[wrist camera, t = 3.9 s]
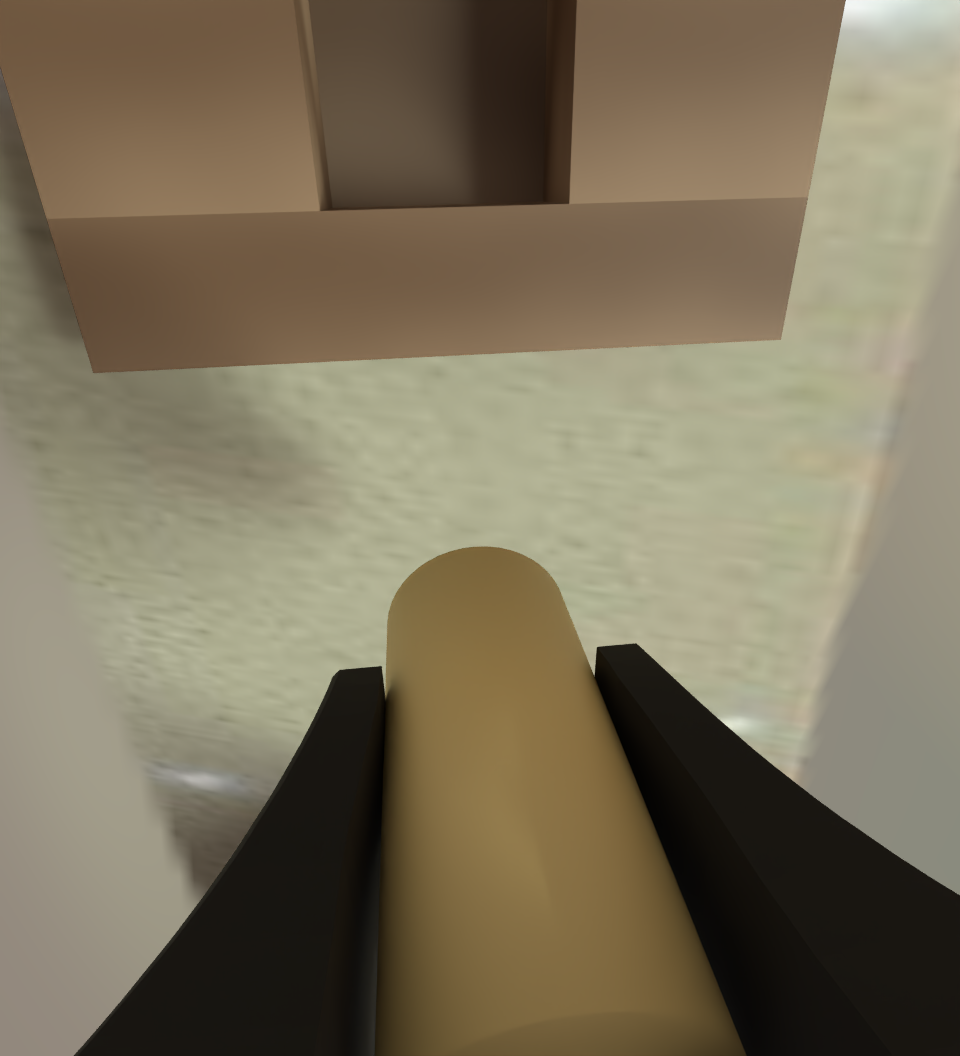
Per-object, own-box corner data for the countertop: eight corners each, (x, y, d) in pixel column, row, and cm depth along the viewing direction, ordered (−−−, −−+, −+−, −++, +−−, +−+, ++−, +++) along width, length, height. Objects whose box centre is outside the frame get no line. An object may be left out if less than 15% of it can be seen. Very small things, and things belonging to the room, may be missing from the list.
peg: (561, 685, 12) (719, 1168, 6) (395, 700, 12) (391, 1222, 6) (567, 539, 11) (784, 987, 5) (378, 553, 11) (350, 1045, 5)
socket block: (719, 315, 16) (780, 339, 14) (146, 340, 15) (93, 373, 12) (801, -257, 12) (920, -388, 9) (-17, -287, 10) (-157, -447, 8)
